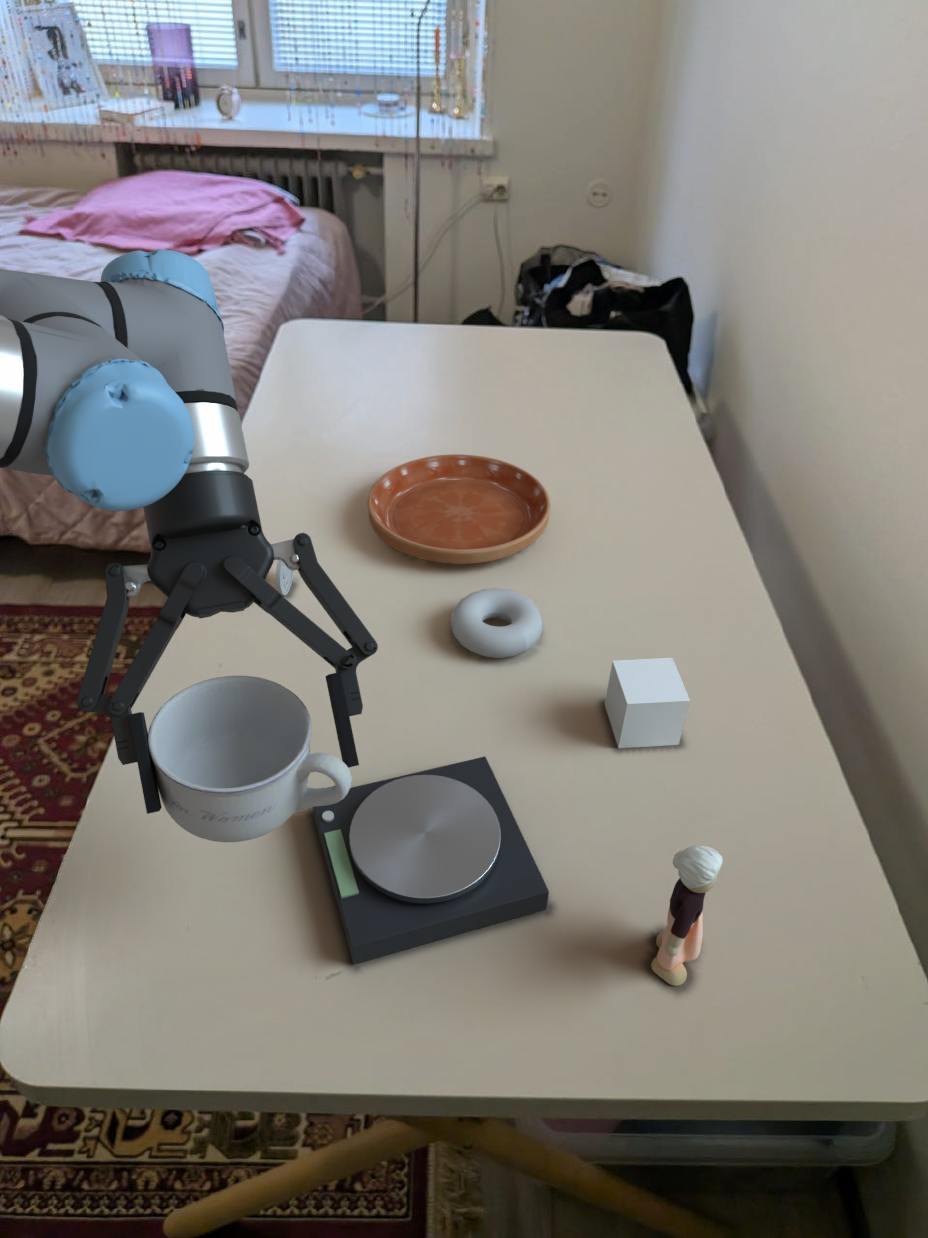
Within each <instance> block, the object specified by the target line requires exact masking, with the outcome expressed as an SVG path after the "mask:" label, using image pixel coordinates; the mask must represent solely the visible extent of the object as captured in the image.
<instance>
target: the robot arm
mask: <svg viewBox="0 0 928 1238" xmlns="http://www.w3.org/2000/svg"><path fill="white" fill-rule="evenodd" d="M224 331H225V325H224V320H223V317H222V316H221V313H220V309H219V304H218V301H217V297H216V292H215V290H214V288H213V284H212V281H211V278H210V276H209V273H208V272H207V269H205V267H204V266H203V265H202V263H200V262H199V261H198V260H196V259H195V258H193V257H192V256H190V255H188V254H185V253H183V252H180V251H176V250H172V249H171V250H170V249H165V248H164V249H163V248H157V249H155V250H152V251H143V250H140V249H139V250H134V251H130V252H127V253H124V254H121V255H119V256H117V257H115V258H114V259H112V260H111V261H109V263H107V264H106V265H105V266H104V268H103V270H102V272H101V275H100V281H90V280H84V279H76V278H70V277H63V276H55V275H47V274H42V273H41V274H40V273H33V272H27V271H19V270H11V269H4V268H0V469H4V470H11V471H17V472H23V473H30V474H36V475H44V476H51V477H52V478H54V479H55V481H56V482H57V484H58V485H59V486H60V487H61V489H63V490H65V491H67V492H68V493H71V494H73V495H75V496H76V497H77V499H78V500H81V501H83V502H84V503H86V504H88V505H90V506H92V507H95V508H96V509H100V510H104V511H109V512H128V511H135V510H137V509H141V508H143V514H144V519H145V523H146V529H147V534H148V540H149V546H150V556H149V557H150V558H149V561H148V563H145V564H133V565H122V564H121V563H118V562H110V563H109V564H107V565H106V567H105V568H104V578H105V590H106V600H105V602H104V606H103V609H102V614H101V616H100V621H99V624H98V627H97V629H96V634H95V638H94V641H93V644H92V648H91V651H90V655H89V657H88V661H87V665H86V668H85V671H84V675H83V678H82V682H81V685H80V689H79V692H78V696H77V699H76V705H77V708H78V709H79V710H81V711H83V712H86V713H87V712H88V713H96V714H102V715H105V716H107V717H108V718H109V720H110V722H111V727H112V732H113V737H114V743H115V748H116V753H117V758H118V760H119V762H120V763H121V765H122V766H126V765H129V764H130V765H131V764H135V763H137V768H138V773H139V778H140V779H139V780H140V784H141V789H142V794H143V800H144V806H145V811H146V815H149V814H153V813H157V812H160V811H161V809H162V808H163V807H162V800H161V797H160V794H159V790H158V785H157V781H156V776H155V771H154V766H153V760H152V758H151V755H150V752H149V747H148V732H149V731H148V727H147V722H146V715H145V712H142V711H139V712H135V713H132V712H133V711H132V709H133V707H134V705H135V703H136V702H137V700H138V698H139V697H140V695H141V693H142V691H143V689H144V687H145V686H146V684H147V682H148V680H149V679H150V677H151V675H152V673H153V672H154V670H155V669H156V666H157V664H158V662H159V661H160V659H161V657H162V656H163V654H164V653H165V651H166V649H167V647H168V645H169V643H170V642H171V640H172V638H173V637H174V635H175V633H176V631H177V630H178V629H179V627H180V625H181V624H182V622H183V620H184V618H185V617H186V615H188V616H190V617H193V618H198V619H206V618H211V617H213V616H215V615H217V614H219V613H233V614H234V613H238V612H244V611H245V610H246V609H248V608H250V607H251V605H253V604H255V605H256V606H258V607H259V608H260V609H261V610H263V612H265V613H267V614H269V615H270V616H271V617H272V618H273V619H275V620H276V621H277V622H278V623H280V624H281V625H282V626H283V627H284V628H286V629H287V630H288V631H289V632H290V633H291V634H293V635H294V636H295V637H297V638H298V639H299V640H300V641H301V642H302V643H304V644H305V645H306V646H307V647H308V648H310V649H311V650H312V651H313V652H314V653H316V654H317V655H318V656H319V657H320V658H322V659H323V661H325V662H326V663H328V664H329V665H330V666H331V667H332V668H333V669H334V670H335V672H332V673H329V674H327V675H325V681H326V686H327V691H328V697H329V701H330V706H331V710H332V716H333V721H334V727H335V731H336V736H337V741H338V746H339V751H340V755H341V760H342V761H343V762H344V763H345V764H346V765H347V767H348V768H352V767H358V766H360V762H359V758H358V753H357V747H356V742H355V737H354V733H353V729H352V728H353V727H352V723H351V718H350V717H353V716H359V715H362V712H363V708H364V705H363V700H362V695H361V689H360V685H359V680H358V675H357V668H358V666H359V665H360V663H362V662H363V661H365V660H366V659H368V658H370V657H371V656H373V655H374V654H376V653H377V651H378V648H379V645H378V643H377V641H376V639H375V638H374V637H373V635H372V634H371V632H370V631H369V630H368V629H367V627H366V625H364V623H363V622H362V620H361V619H360V618H359V616H358V615H357V614H356V612H355V611H354V610H353V608H352V607H351V606H350V604H349V603H348V602H347V599H346V598H345V597H344V596H343V595H342V593H341V592H340V590H339V589H338V588H337V586H336V585H335V584H334V582H333V580H331V578H330V577H329V575H328V573H326V571H325V570H324V568H323V567H322V566H321V564H320V563H319V562H318V561H319V560H318V559H317V555H316V551H315V548H314V544H313V542H312V538H311V536H310V535H309V534H308V533H305V532H299V533H297V534H296V535H295V536H294V538H292V539H288V540H284V541H279V542H276V543H272V544H271V543H270V542H269V541H268V539H267V538H266V536H265V534H264V531H263V527H262V522H261V517H260V512H259V507H258V501H257V498H256V492H255V488H254V482H253V480H252V478H251V477H249V476H248V475H247V474H245V473H246V472H247V470H249V467H250V461H249V456H248V450H247V446H246V440H245V436H244V431H243V426H242V422H241V421H242V420H241V416H240V413H239V410H238V409H239V408H238V405H237V398H236V393H235V386H234V381H233V377H232V372H231V365H230V360H229V355H228V351H227V350H228V349H227V345H226V340H225V334H224V333H225V332H224ZM278 560H281V561H283V562H284V563H285V565H286V566H287V568H288V569H290V570H294V571H297V572H298V574H299V576H300V578H301V580H302V581H303V582H304V584H305V585H306V587H307V588H308V589H309V591H310V592H311V594H312V595H313V596H314V598H315V599H316V600H317V601H318V603H319V604H320V606H321V607H322V608H323V610H324V611H325V612H326V614H327V615H328V616H329V618H330V620H331V621H332V622H333V624H335V626H336V628H337V629H338V630H339V632H340V633H341V634H342V636H343V637H344V638H345V639H346V641H347V642H348V644H349V645H350V646H351V647H349V648H348V649H346V648H345V647H344V646H342V645H341V644H340V643H339V642H338V641H336V639H334V638H333V637H332V636H330V634H328V633H327V632H326V631H324V630H323V628H321V627H320V626H319V625H317V624H316V623H315V622H314V621H313V620H312V619H310V618H309V617H308V616H306V614H305V613H303V612H302V611H301V610H299V609H298V608H297V607H296V606H295V605H294V604H292V603H291V602H290V600H289V601H288V600H287V599H286V598H285V597H284V595H281V594H280V593H279V592H278V591H277V588H275V587H274V586H272V585H271V584H270V583H269V582H268V581H266V579H267V576H268V574H269V573H270V571H271V569H272V567H273V564H274V561H278ZM149 581H150V582H151V583H152V585H154V586H155V587H156V588H157V589H158V590H159V591H160V592H161V593H163V594H164V595H165V596H166V597H167V599H166V601H165V603H164V604H163V606H162V608H161V610H160V611H159V613H158V615H157V618H156V620H155V622H154V624H153V626H152V627H151V629H150V630H149V632H148V634H147V636H146V637H145V639H144V640H143V642H142V645H141V646H140V648H139V649H138V651H137V653H136V654H135V656H134V658H133V660H132V662H131V664H130V665H129V667H128V669H127V670H126V671H125V674H124V675H123V677H122V679H121V681H120V682H119V684H118V686H117V688H116V690H115V691H114V693H113V695H107V694H106V690H107V686H108V684H109V683H108V682H109V679H110V676H111V672H112V669H113V665H114V662H115V659H116V655H117V652H118V649H119V644H120V641H121V637H122V634H123V630H124V628H125V627H124V626H125V623H126V620H127V617H128V613H129V608H130V601H131V599H133V598H135V597H138V595H140V593H141V589H142V586H143V584H145V583H146V582H149Z"/></svg>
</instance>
